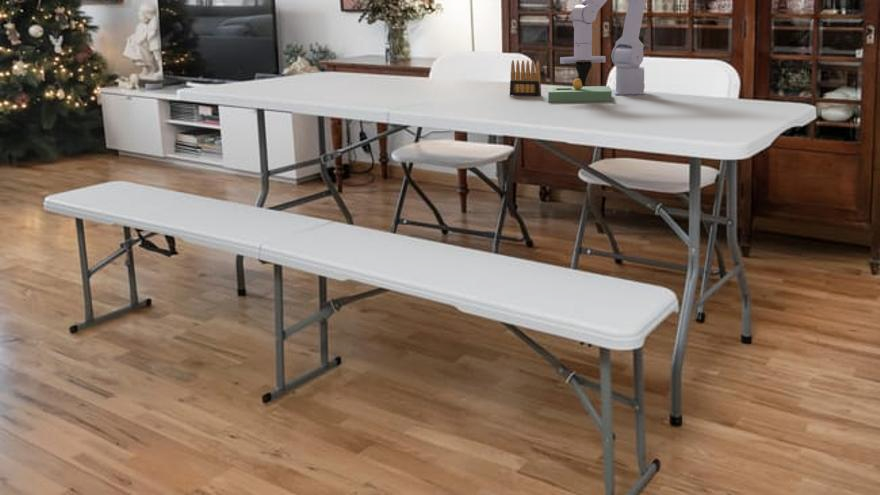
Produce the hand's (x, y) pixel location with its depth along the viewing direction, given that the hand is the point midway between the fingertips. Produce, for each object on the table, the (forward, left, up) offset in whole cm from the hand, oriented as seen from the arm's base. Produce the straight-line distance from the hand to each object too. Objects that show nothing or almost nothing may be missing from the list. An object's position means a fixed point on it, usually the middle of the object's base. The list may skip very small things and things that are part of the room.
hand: (582, 85), depth 324 cm
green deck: (+1, 0, -4) cm, 5 cm away
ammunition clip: (+19, -11, -5) cm, 22 cm away
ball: (+1, 0, 0) cm, 2 cm away
